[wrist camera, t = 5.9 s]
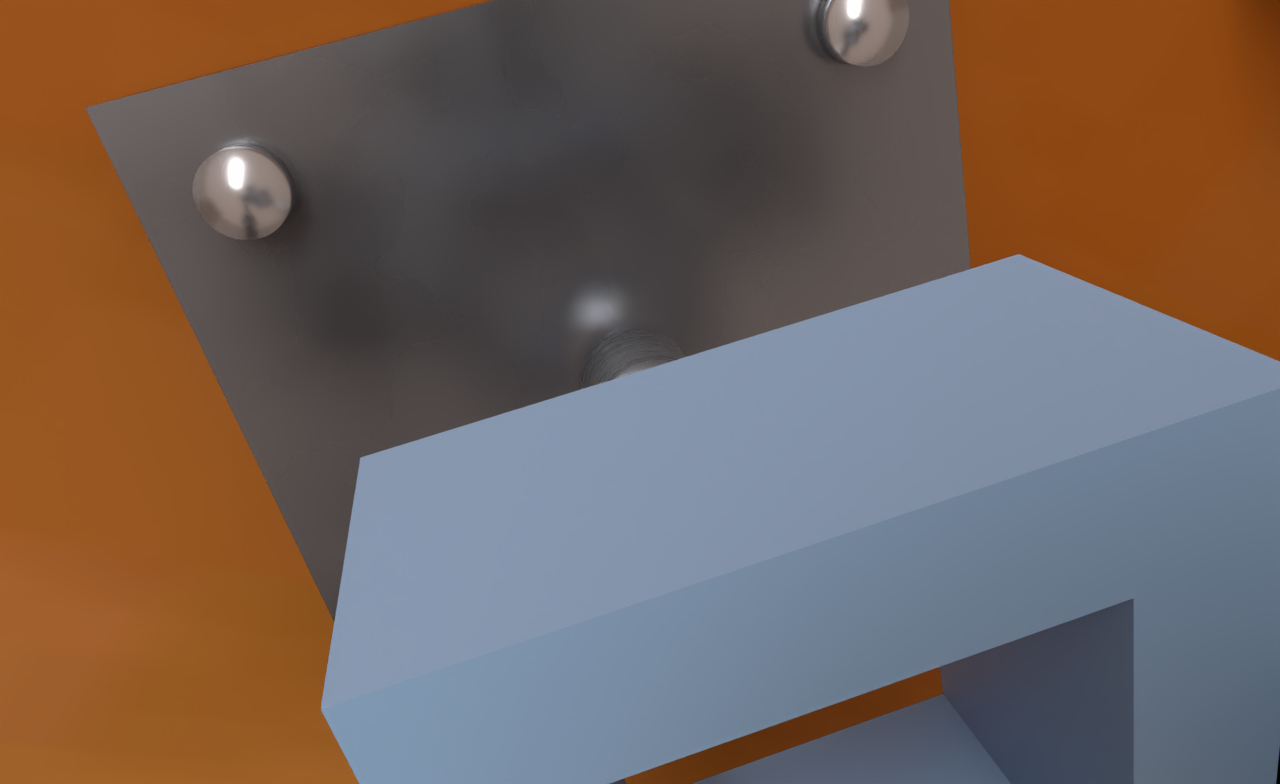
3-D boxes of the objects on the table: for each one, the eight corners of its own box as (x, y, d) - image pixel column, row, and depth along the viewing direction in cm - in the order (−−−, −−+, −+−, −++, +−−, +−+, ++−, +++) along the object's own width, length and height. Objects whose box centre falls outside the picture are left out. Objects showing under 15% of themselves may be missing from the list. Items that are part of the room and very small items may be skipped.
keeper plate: (954, 520, 19) (1114, 676, 15) (404, 706, 18) (395, 936, 14) (891, -105, 14) (1105, -159, 10) (121, 97, 13) (-42, 143, 9)
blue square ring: (1046, 735, 11) (1256, 983, 8) (555, 914, 10) (601, 1248, 7) (1018, 254, 8) (1314, 376, 5) (360, 457, 7) (319, 708, 5)
